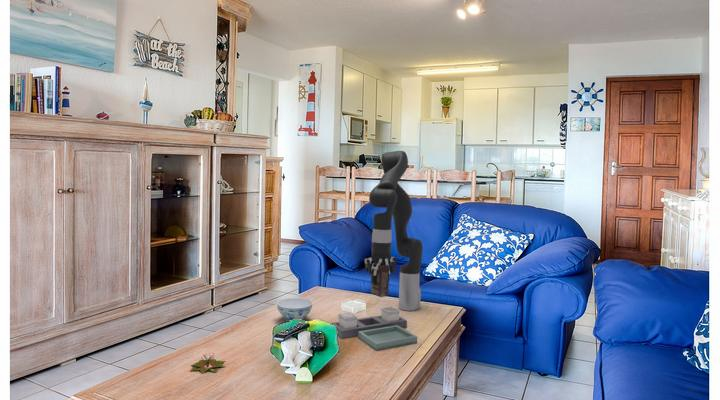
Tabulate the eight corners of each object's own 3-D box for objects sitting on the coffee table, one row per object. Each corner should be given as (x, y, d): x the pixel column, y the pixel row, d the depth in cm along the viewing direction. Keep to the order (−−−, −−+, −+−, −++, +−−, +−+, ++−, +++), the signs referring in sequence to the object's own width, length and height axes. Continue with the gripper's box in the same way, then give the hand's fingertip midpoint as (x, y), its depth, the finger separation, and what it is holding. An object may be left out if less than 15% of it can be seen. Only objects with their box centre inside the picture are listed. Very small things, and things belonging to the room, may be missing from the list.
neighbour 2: (391, 322, 205) (391, 306, 205) (399, 327, 200) (399, 310, 199) (380, 324, 203) (381, 308, 202) (388, 328, 198) (389, 312, 197)
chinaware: (319, 321, 205) (319, 303, 204) (291, 329, 194) (292, 310, 193) (296, 312, 215) (297, 295, 214) (269, 320, 204) (269, 302, 203)
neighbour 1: (349, 329, 196) (350, 312, 195) (356, 334, 190) (357, 316, 190) (338, 331, 193) (338, 314, 193) (345, 336, 188) (345, 318, 187)
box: (388, 295, 186) (390, 265, 186) (379, 297, 184) (380, 266, 183) (379, 292, 191) (380, 262, 190) (370, 293, 188) (371, 263, 188)
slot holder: (393, 320, 208) (393, 313, 208) (406, 327, 199) (407, 320, 199) (330, 330, 194) (330, 322, 194) (341, 338, 185) (341, 331, 185)
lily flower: (196, 359, 163) (196, 346, 163) (231, 361, 163) (231, 348, 163) (182, 375, 152) (182, 360, 151) (219, 376, 151) (220, 362, 151)
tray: (396, 331, 195) (397, 325, 195) (417, 342, 183) (417, 336, 182) (357, 337, 186) (358, 331, 186) (376, 350, 174) (376, 344, 174)
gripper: (392, 238, 192) (390, 280, 194) (360, 239, 186) (359, 283, 187) (402, 241, 186) (400, 284, 187) (369, 242, 179) (368, 287, 180)
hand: (379, 283), depth 187 cm, fingers closed on box, 4 cm apart
